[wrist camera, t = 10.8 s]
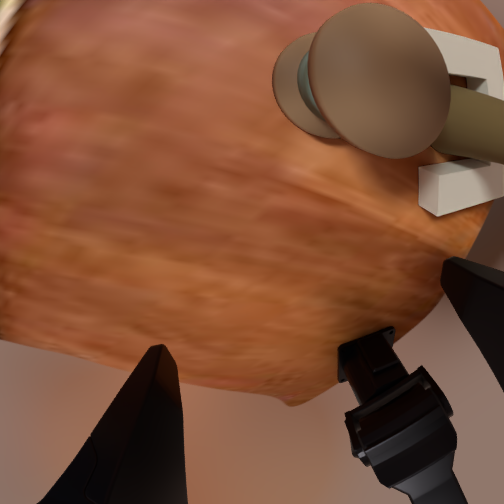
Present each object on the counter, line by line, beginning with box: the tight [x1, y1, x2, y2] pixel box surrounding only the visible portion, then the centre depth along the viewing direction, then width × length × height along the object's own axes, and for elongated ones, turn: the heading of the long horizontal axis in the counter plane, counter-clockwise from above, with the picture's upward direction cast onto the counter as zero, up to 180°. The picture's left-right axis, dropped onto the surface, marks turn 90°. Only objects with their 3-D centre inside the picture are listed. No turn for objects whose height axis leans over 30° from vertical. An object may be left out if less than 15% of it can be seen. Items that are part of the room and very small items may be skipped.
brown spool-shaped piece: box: [272, 3, 451, 159], centre depth 12 cm, size 7×7×8 cm
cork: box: [431, 84, 504, 165], centre depth 12 cm, size 6×6×11 cm
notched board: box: [418, 28, 504, 217], centre depth 16 cm, size 14×10×2 cm
